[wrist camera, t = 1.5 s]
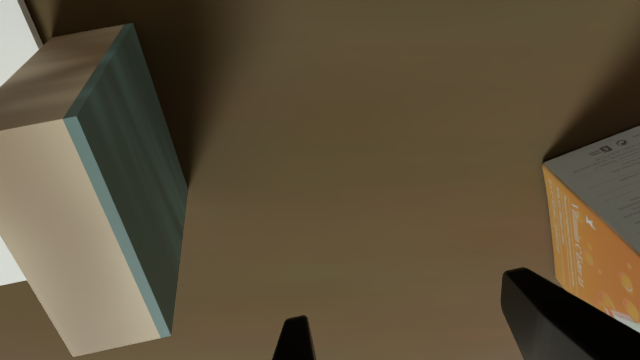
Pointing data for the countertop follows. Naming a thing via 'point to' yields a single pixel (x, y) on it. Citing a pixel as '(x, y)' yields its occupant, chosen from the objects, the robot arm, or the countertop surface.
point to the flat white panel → (3, 61)
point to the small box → (598, 223)
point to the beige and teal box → (92, 189)
